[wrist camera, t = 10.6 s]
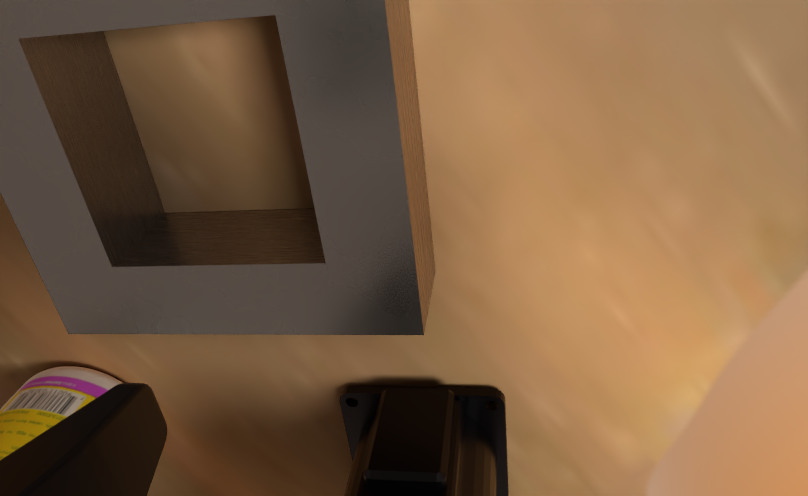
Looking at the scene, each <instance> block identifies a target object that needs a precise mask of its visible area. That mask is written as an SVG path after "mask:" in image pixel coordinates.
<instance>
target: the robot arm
mask: <svg viewBox="0 0 808 496" xmlns="http://www.w3.org/2000/svg"><path fill="white" fill-rule="evenodd" d="M351 398H355V399H356V400H353V399H351ZM488 401H495V403H490V402H488ZM340 405H341V410H342V414H343V419H344V423H345V428H346V433H347V437H348V442H349V446H350V451H351V455H352V460H353V464H352V467H351V471H350V475H349V479H348V483H347V487H346V491H345V494H344V496H508V467H507V439H506V411H505V397H504V394H503V393H502V392H501V391H499V390H497V389H492V388H441V387H387V386H348V387H346V388H344V390H343V391H342V394H341V397H340ZM166 436H167V426H166V422H165V419H164V417H163V414H162V412H161V409H160V407H159V405H158V402H157V400H156V398H155V395H154V393H153V391H152V389H151V388H150V387H149V386H148V385H147V384H143V383H122V384H118V385H116V386H114V387H113V388H111V389H110V390H108V391H107V392H105V393H103V394H102V395H100V396H99V397H97V398H96V399H94V400H93V401H91V402H90V403H88V404H86V405H85V406H83V407H82V408H80V409H79V410H77V411H76V412H74V413H73V414H71V415H69V416H68V417H66V418H65V419H63V420H62V421H60V422H59V423H57V424H56V425H54V426H52V427H51V428H49V429H48V430H46V431H45V432H43V433H42V434H40V435H39V436H37V437H35V438H34V439H32V440H31V441H29V442H28V443H26V444H25V445H23V446H22V447H20V448H18V449H17V450H15V451H14V452H12V453H11V454H9V455H8V456H6V457H5V458H3V459H1V460H0V496H147V493H148V490H149V487H150V484H151V482H152V479H153V476H154V473H155V470H156V467H157V464H158V461H159V458H160V455H161V453H162V450H163V447H164V444H165V440H166Z"/></svg>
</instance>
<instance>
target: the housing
mask: <svg viewBox="0 0 808 496" xmlns="http://www.w3.org/2000/svg"><path fill="white" fill-rule="evenodd" d="M271 15H275V16H276V21H277V26H278V31H279V36H280V41H281V46H282V50H283V55H284V60H285V65H286V70H287V75H288V80H289V85H290V90H291V95H292V100H293V105H294V110H295V114H296V119H297V124H298V129H299V134H300V139H301V144H302V149H303V154H304V159H305V164H306V169H307V173H308V178H309V183H310V188H311V193H312V198H313V203H314V209H285V210H255V211H226V212H196V213H166V214H165V212H164V209H163V206H162V203H161V200H160V197H159V194H158V191H157V188H156V185H155V182H154V179H153V177H152V174H151V171H150V168H149V165H148V162H147V159H146V156H145V153H144V150H143V147H142V144H141V141H140V138H139V136H138V133H137V130H136V127H135V124H134V121H133V118H132V115H131V112H130V109H129V106H128V103H127V100H126V97H125V94H124V92H123V89H122V86H121V83H120V80H119V77H118V74H117V71H116V68H115V65H114V62H113V59H112V56H111V53H110V51H109V48H108V45H107V42H106V39H105V36H104V33H103V31H107V30H118V29H129V28H140V27H151V26H162V25H173V24H183V23H194V22H205V21H216V20H227V19H238V18H249V17H260V16H271ZM0 193H1V195H2V197H3V199H4V201H5V203H6V205H7V207H8V209H9V211H10V213H11V216H12V218H13V220H14V222H15V224H16V226H17V228H18V230H19V232H20V234H21V236H22V238H23V240H24V242H25V245H26V247H27V249H28V251H29V253H30V255H31V257H32V259H33V261H34V263H35V265H36V267H37V269H38V271H39V274H40V276H41V278H42V280H43V282H44V284H45V286H46V288H47V290H48V292H49V294H50V296H51V298H52V300H53V303H54V305H55V307H56V309H57V311H58V313H59V315H60V317H61V319H62V321H63V323H64V325H65V327H66V329H67V332H68V334H290V335H424V332H425V326H426V320H427V315H428V309H429V304H430V298H431V292H432V287H433V281H434V275H435V264H434V254H433V244H432V234H431V223H430V213H429V203H428V193H427V183H426V173H425V163H424V153H423V143H422V132H421V122H420V112H419V102H418V92H417V82H416V72H415V62H414V52H413V41H412V31H411V21H410V11H409V1H408V0H0Z"/></svg>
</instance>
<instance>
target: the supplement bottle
mask: <svg viewBox="0 0 808 496" xmlns="http://www.w3.org/2000/svg"><path fill="white" fill-rule="evenodd" d="M122 383H123V382H121V381H119V380H117V379H115V378H113V377H111V376H109V375H107V374H105V373H102V372H99V371H96V370H93V369H89V368H84V367H75V366H63V367H55V368H51V369H47V370H44V371H42V372H40V373H38V374H36V375H34V376H33V377H31V378H30V379H29V380H27V381H26V382H25V383H24V384H23V385H22V386H21V387H20V389H19V390H18V391H17V392H16V393H15V394H14V395H13V396H12V397H11V398H10V399H9V400H8V401H7V402H6V403H5V404H4V405H3V407H2V408H1V409H0V460H1V459H3V458H5V457H6V456H8V455H9V454H11V453H12V452H14V451H15V450H17V449H18V448H20V447H22V446H23V445H25V444H26V443H28V442H29V441H31V440H32V439H34V438H35V437H37V436H39V435H40V434H42V433H43V432H45V431H46V430H48V429H49V428H51V427H52V426H54V425H56V424H57V423H59V422H60V421H62V420H63V419H65V418H66V417H68V416H69V415H71V414H73V413H74V412H76V411H77V410H79V409H80V408H82V407H83V406H85V405H86V404H88V403H90V402H91V401H93V400H94V399H96V398H97V397H99V396H100V395H102V394H103V393H105V392H107V391H108V390H110V389H111V388H113V387H114V386H116V385H118V384H122Z"/></svg>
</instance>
